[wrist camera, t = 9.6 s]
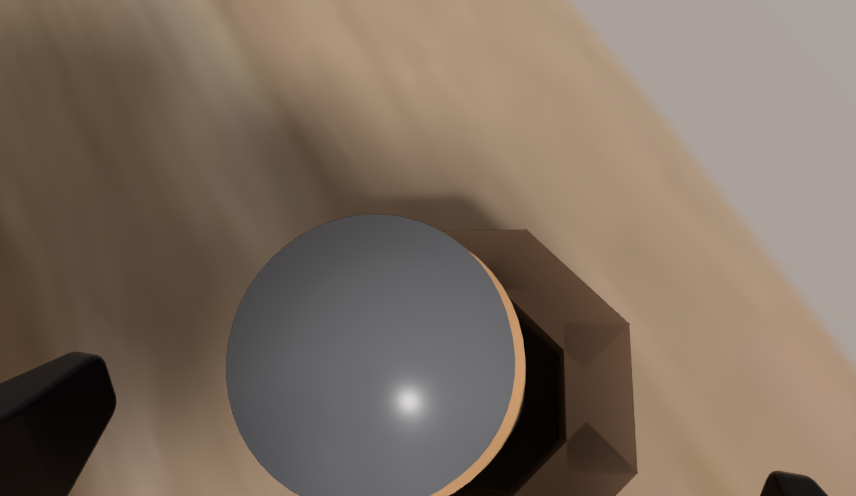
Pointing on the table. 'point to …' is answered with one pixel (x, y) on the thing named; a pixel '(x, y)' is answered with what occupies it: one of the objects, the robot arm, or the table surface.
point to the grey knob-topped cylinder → (375, 361)
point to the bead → (567, 367)
